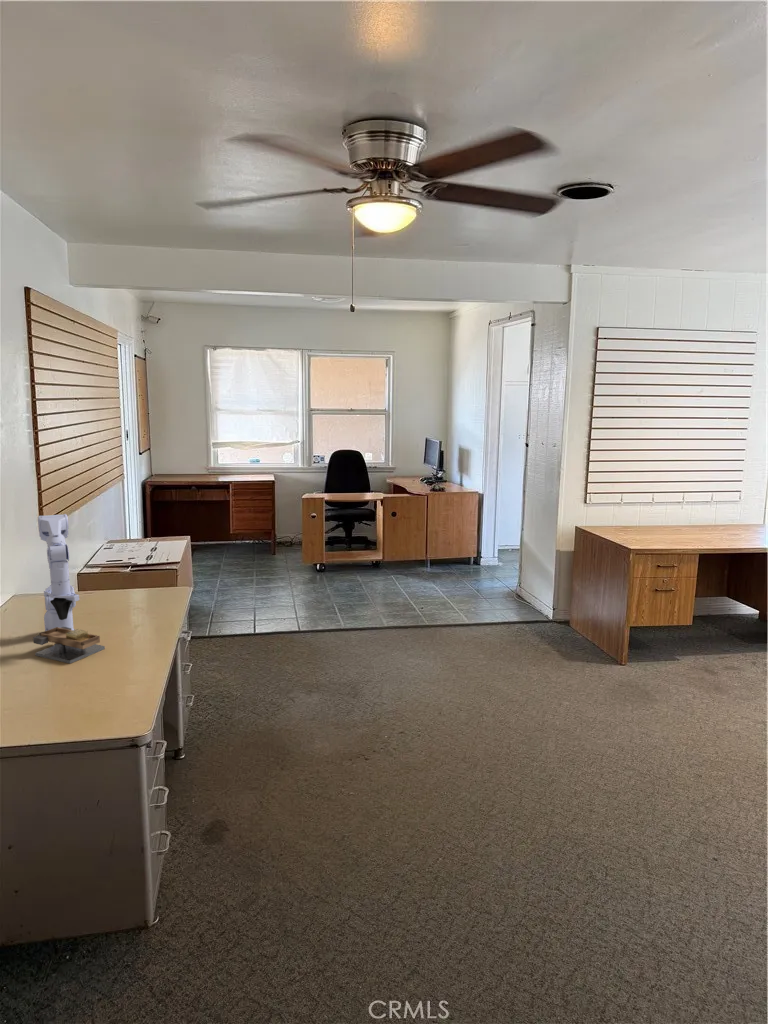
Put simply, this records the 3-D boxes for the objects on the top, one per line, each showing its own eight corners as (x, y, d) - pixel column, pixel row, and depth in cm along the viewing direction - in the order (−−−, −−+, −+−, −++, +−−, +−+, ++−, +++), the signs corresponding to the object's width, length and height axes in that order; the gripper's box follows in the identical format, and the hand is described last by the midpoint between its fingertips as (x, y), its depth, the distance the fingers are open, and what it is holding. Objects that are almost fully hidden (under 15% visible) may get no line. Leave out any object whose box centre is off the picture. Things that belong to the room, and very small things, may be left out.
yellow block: (66, 640, 215) (65, 632, 215) (77, 636, 219) (77, 628, 219) (76, 642, 213) (76, 635, 213) (88, 638, 217) (87, 631, 217)
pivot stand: (35, 655, 216) (34, 642, 215) (71, 641, 228) (70, 629, 228) (70, 663, 209) (69, 650, 208) (104, 648, 222) (103, 636, 221)
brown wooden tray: (33, 643, 217) (32, 635, 216) (63, 632, 227) (62, 624, 227) (76, 652, 209) (76, 645, 208) (105, 641, 219) (105, 633, 219)
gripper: (34, 580, 219) (38, 619, 222) (65, 585, 213) (68, 625, 216) (52, 575, 226) (55, 613, 228) (83, 580, 220) (86, 619, 222)
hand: (63, 618), depth 222 cm, fingers closed
